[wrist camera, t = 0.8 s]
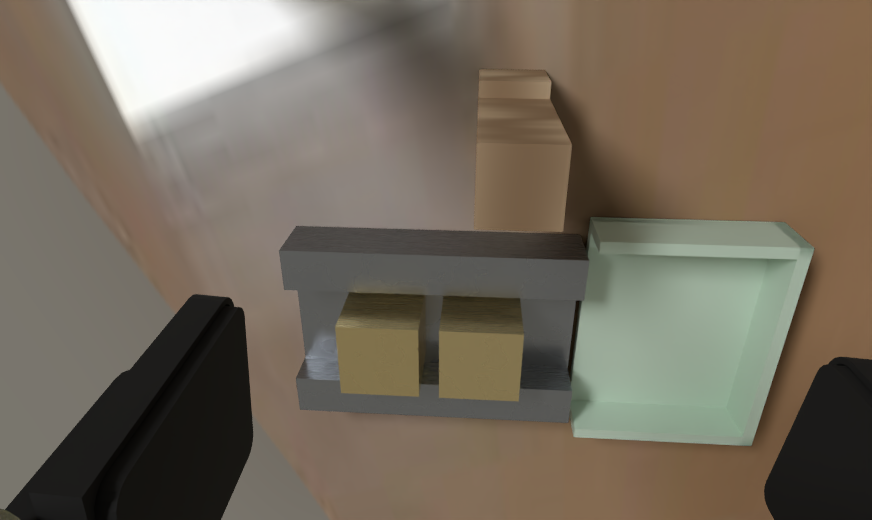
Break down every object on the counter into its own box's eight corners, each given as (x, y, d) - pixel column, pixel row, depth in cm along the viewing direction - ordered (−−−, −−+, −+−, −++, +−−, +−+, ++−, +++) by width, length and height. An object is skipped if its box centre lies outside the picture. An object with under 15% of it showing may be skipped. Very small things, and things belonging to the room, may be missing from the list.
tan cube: (425, 288, 32) (418, 330, 28) (426, 350, 34) (418, 396, 30) (351, 286, 32) (335, 327, 28) (355, 347, 34) (341, 393, 30)
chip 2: (519, 292, 31) (523, 334, 28) (515, 354, 33) (518, 401, 30) (444, 289, 32) (438, 331, 28) (443, 351, 34) (438, 397, 30)
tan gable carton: (544, 70, 27) (574, 123, 18) (537, 162, 29) (560, 250, 20) (479, 69, 27) (477, 121, 19) (476, 161, 29) (473, 247, 21)
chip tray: (784, 222, 30) (814, 248, 27) (731, 409, 35) (751, 445, 32) (590, 216, 30) (600, 241, 28) (566, 401, 36) (573, 436, 33)
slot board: (580, 234, 31) (589, 260, 28) (561, 387, 35) (568, 422, 33) (296, 226, 32) (279, 250, 29) (313, 376, 36) (300, 409, 34)
